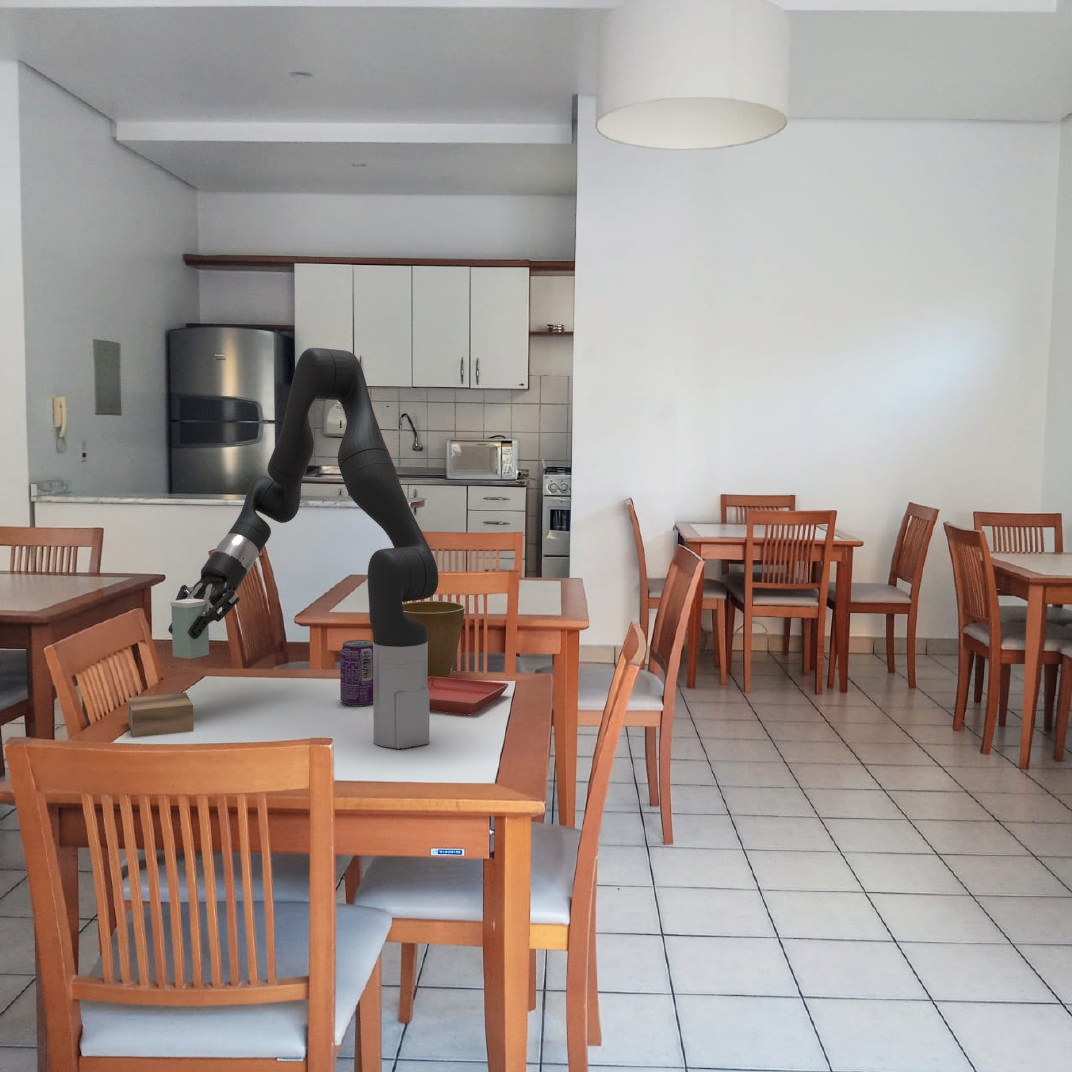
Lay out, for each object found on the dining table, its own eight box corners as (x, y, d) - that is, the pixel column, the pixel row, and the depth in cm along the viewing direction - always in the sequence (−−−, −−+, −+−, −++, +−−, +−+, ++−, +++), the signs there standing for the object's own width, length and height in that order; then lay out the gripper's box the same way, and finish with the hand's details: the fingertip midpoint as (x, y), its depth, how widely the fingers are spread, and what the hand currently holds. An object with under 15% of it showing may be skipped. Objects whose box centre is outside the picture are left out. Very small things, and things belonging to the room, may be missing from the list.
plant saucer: (429, 690, 215) (429, 674, 215) (510, 698, 209) (510, 682, 208) (388, 711, 198) (388, 694, 198) (474, 720, 192) (474, 702, 192)
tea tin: (210, 654, 190) (208, 600, 189) (189, 658, 186) (188, 603, 185) (192, 651, 193) (190, 598, 192) (171, 656, 188) (170, 601, 188)
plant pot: (388, 674, 228) (388, 602, 226) (453, 669, 233) (454, 599, 232) (404, 689, 214) (404, 613, 213) (473, 684, 219) (473, 609, 218)
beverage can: (381, 698, 206) (380, 639, 205) (371, 707, 199) (371, 646, 198) (346, 697, 206) (345, 638, 205) (336, 706, 199) (335, 645, 198)
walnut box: (193, 732, 182) (193, 704, 181) (133, 739, 177) (132, 710, 177) (186, 718, 191) (185, 692, 190) (128, 724, 186) (127, 697, 186)
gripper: (192, 548, 198) (142, 619, 188) (247, 552, 191) (197, 626, 181) (214, 572, 203) (166, 643, 193) (268, 577, 196) (221, 651, 186)
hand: (182, 634), depth 187 cm, fingers closed on tea tin, 4 cm apart
